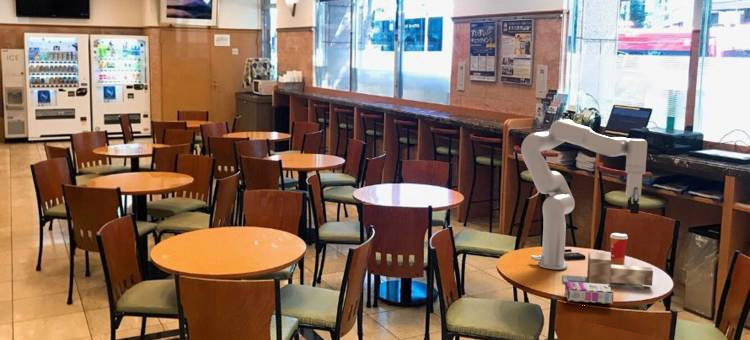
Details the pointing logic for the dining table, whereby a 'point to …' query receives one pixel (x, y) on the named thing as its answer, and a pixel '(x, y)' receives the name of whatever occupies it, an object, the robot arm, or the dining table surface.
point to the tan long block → (599, 272)
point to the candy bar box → (589, 292)
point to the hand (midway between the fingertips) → (632, 211)
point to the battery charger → (573, 255)
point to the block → (631, 275)
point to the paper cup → (618, 247)
